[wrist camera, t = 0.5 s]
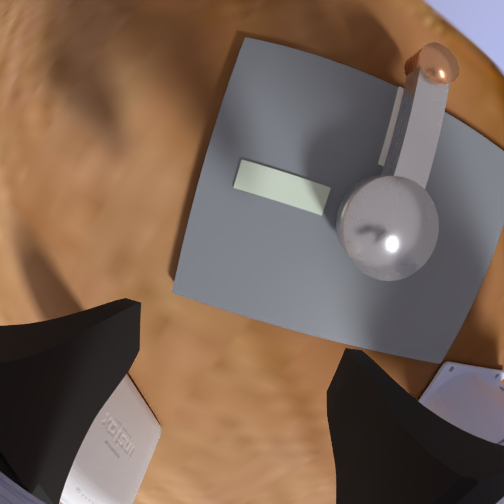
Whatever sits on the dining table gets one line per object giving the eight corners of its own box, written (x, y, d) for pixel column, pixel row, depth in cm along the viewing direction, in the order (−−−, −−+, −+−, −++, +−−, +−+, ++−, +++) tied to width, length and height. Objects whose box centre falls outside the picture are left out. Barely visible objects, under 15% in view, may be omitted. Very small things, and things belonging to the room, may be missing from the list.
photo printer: (170, 431, 23) (127, 540, 11) (134, 432, 24) (86, 527, 12) (115, 342, 21) (24, 451, 9) (79, 347, 22) (-7, 439, 10)
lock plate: (510, 162, 15) (527, 163, 13) (435, 357, 19) (445, 371, 17) (246, 43, 15) (243, 30, 13) (177, 286, 19) (166, 299, 17)
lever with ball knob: (402, 278, 15) (419, 295, 13) (322, 252, 15) (330, 266, 13) (458, 78, 12) (480, 69, 10) (385, 39, 12) (400, 22, 10)
